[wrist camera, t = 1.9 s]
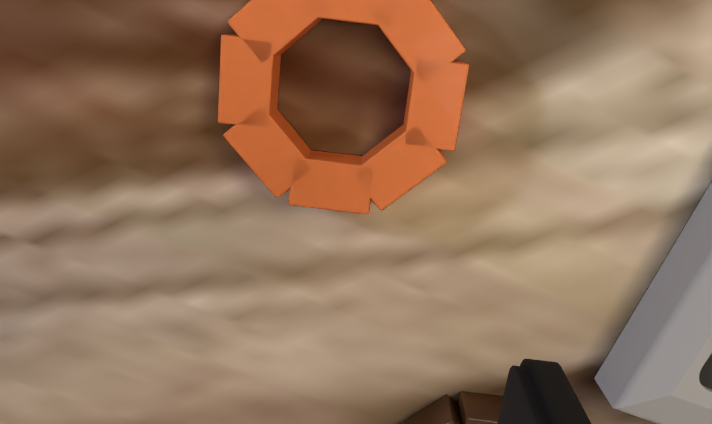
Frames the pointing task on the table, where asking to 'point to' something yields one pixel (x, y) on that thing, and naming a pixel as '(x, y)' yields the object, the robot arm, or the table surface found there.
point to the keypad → (669, 336)
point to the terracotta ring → (326, 169)
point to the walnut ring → (460, 410)
